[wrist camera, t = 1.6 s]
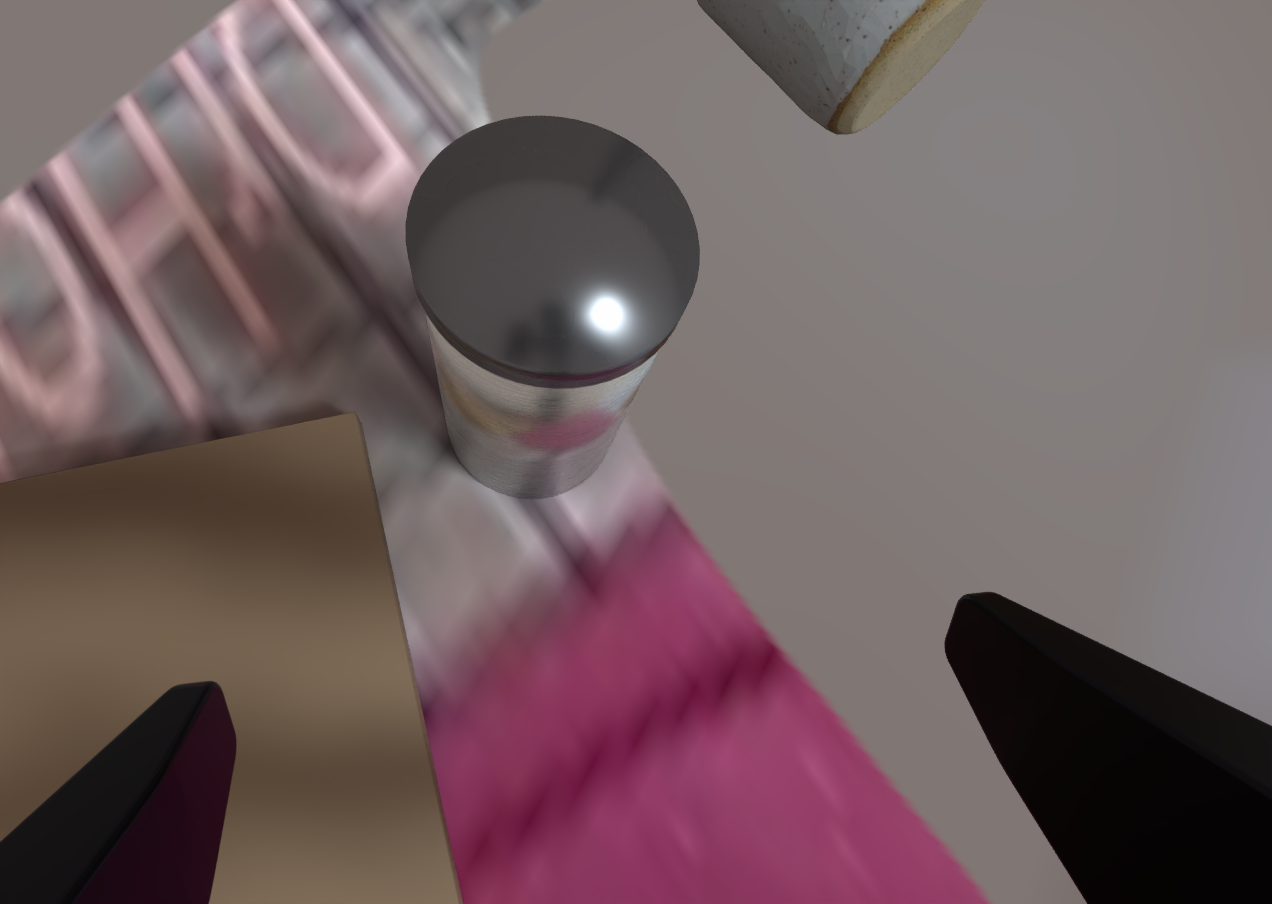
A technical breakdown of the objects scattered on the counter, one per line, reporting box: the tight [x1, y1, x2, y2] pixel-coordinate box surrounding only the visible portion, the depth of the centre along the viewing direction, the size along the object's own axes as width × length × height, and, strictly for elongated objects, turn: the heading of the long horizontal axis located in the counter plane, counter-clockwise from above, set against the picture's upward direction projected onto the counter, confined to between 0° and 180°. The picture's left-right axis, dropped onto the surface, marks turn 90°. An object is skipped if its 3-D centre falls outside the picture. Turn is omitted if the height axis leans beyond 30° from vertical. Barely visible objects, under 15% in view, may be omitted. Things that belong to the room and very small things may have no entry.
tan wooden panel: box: [0, 412, 463, 904], centre depth 17 cm, size 18×12×1 cm, turn 16°
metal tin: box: [406, 116, 700, 499], centre depth 18 cm, size 5×5×10 cm
